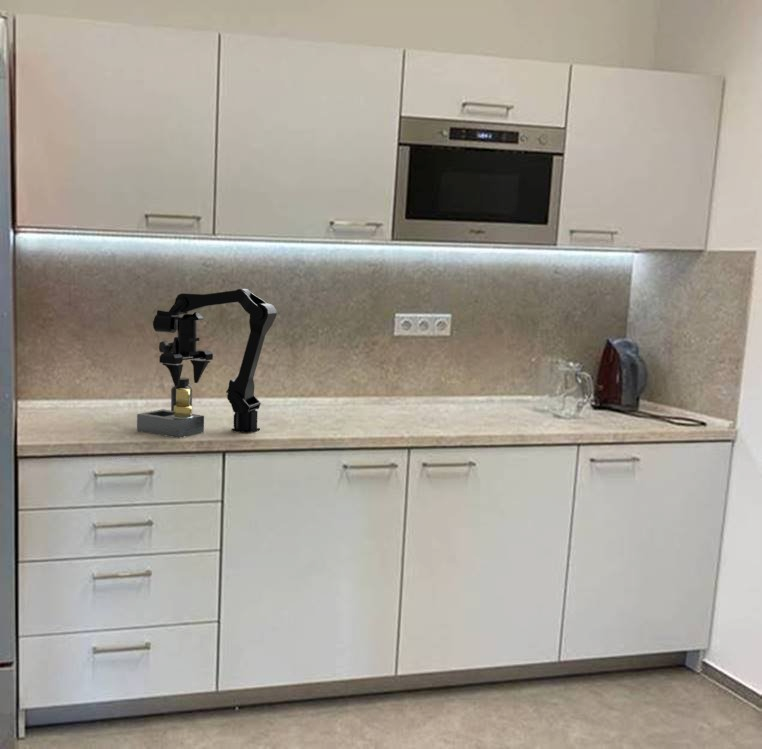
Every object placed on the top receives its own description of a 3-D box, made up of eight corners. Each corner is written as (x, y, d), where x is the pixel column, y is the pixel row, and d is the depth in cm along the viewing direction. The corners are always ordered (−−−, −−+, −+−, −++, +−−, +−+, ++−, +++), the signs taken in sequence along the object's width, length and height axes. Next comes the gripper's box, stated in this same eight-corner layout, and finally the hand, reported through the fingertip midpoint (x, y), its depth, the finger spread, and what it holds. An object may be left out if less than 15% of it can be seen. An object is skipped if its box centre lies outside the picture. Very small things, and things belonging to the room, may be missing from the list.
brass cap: (195, 415, 256) (195, 389, 255) (183, 418, 251) (184, 391, 250) (181, 413, 258) (182, 387, 257) (169, 416, 253) (170, 389, 252)
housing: (203, 432, 258) (204, 415, 258) (179, 438, 249) (179, 420, 248) (162, 425, 266) (162, 408, 265) (137, 430, 256) (137, 413, 255)
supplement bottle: (183, 411, 290) (183, 376, 288) (196, 414, 286) (197, 378, 284) (166, 414, 285) (166, 377, 283) (179, 417, 280) (180, 380, 279)
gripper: (186, 330, 277) (185, 378, 279) (145, 333, 261) (145, 384, 263) (214, 333, 272) (213, 382, 274) (174, 336, 256) (173, 388, 258)
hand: (186, 384), depth 267 cm, fingers open, 9 cm apart
